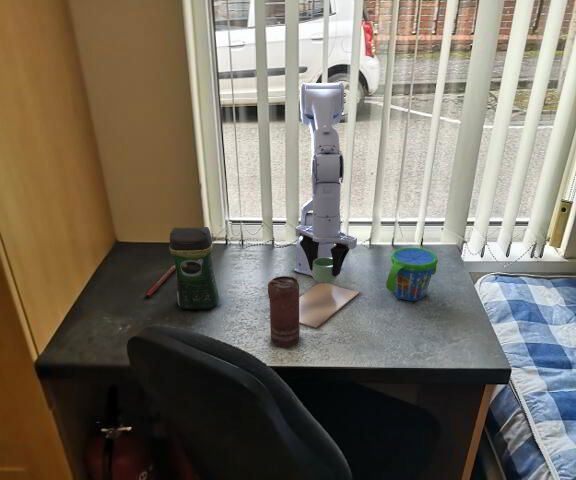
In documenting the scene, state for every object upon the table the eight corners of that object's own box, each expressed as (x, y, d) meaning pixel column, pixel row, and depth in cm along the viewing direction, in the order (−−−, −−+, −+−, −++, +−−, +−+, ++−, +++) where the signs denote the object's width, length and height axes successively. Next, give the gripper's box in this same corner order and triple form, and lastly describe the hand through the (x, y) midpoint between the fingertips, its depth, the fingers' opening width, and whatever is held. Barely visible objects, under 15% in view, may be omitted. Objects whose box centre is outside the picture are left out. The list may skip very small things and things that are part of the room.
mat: (275, 315, 132) (275, 314, 131) (320, 283, 145) (320, 281, 145) (316, 328, 126) (316, 327, 126) (358, 293, 140) (359, 292, 140)
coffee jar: (220, 295, 140) (213, 221, 129) (217, 311, 134) (209, 234, 123) (181, 296, 140) (170, 222, 129) (175, 311, 134) (164, 235, 123)
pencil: (149, 298, 139) (148, 294, 139) (145, 297, 140) (144, 294, 139) (178, 266, 154) (178, 262, 154) (174, 265, 154) (174, 262, 154)
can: (268, 334, 125) (266, 275, 117) (297, 332, 125) (297, 274, 117) (270, 349, 120) (268, 289, 112) (300, 347, 120) (300, 287, 112)
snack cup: (417, 279, 146) (422, 241, 140) (448, 294, 139) (455, 255, 133) (370, 295, 139) (373, 256, 133) (400, 312, 132) (405, 271, 126)
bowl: (308, 279, 130) (308, 263, 128) (320, 271, 134) (320, 255, 132) (328, 285, 128) (329, 269, 126) (340, 276, 132) (341, 260, 129)
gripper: (287, 212, 123) (288, 270, 131) (346, 225, 116) (343, 286, 124) (305, 203, 127) (304, 260, 135) (363, 215, 121) (359, 274, 129)
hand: (324, 271), depth 130 cm, fingers closed on bowl, 5 cm apart
